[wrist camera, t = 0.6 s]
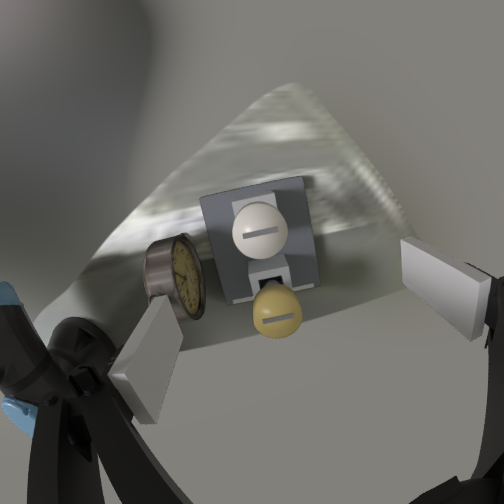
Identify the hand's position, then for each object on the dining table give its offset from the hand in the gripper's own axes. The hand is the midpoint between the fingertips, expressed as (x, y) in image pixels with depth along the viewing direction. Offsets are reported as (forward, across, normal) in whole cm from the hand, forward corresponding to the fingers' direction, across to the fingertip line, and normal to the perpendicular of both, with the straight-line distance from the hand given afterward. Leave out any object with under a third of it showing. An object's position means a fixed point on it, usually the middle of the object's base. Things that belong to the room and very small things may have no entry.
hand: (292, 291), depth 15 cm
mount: (+26, -1, -4) cm, 26 cm away
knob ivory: (+20, -1, +1) cm, 20 cm away
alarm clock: (+27, -13, -4) cm, 30 cm away
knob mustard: (+20, -1, -8) cm, 21 cm away
